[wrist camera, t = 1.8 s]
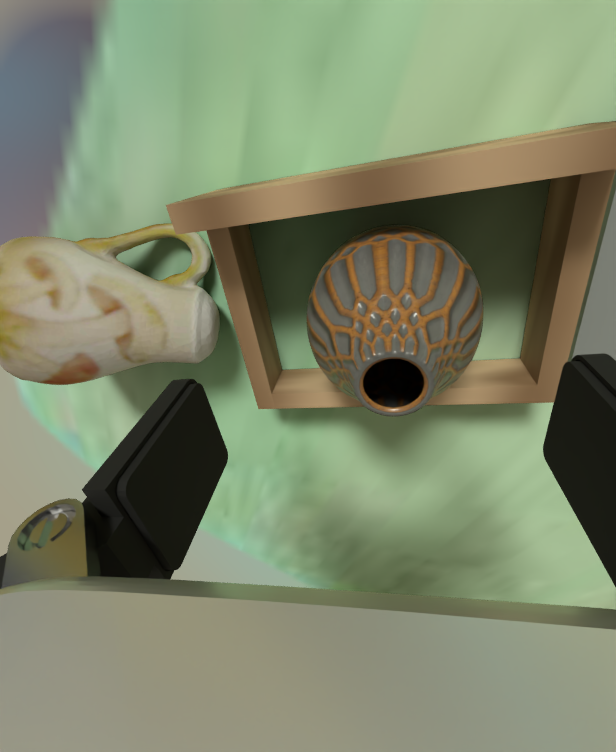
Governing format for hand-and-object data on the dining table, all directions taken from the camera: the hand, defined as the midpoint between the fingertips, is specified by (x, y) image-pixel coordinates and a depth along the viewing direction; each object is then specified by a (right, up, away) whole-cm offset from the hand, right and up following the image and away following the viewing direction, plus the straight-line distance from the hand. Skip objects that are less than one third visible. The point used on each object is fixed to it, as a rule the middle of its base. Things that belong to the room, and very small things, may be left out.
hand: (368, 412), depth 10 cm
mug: (-11, +6, +11) cm, 16 cm away
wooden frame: (+2, +5, +8) cm, 10 cm away
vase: (+2, +6, +8) cm, 10 cm away
